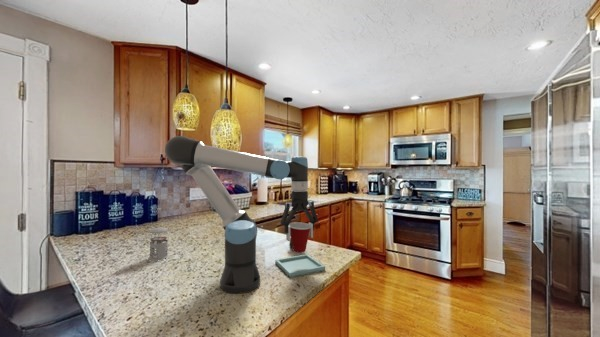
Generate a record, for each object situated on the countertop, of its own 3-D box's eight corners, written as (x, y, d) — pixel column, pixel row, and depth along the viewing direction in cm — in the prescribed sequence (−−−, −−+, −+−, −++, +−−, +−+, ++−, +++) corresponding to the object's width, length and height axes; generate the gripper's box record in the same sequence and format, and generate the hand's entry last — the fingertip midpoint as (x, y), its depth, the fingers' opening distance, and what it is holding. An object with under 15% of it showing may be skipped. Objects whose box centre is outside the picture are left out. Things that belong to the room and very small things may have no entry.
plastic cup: (305, 256, 104) (305, 228, 104) (283, 252, 108) (283, 225, 108) (315, 248, 114) (315, 223, 114) (294, 245, 118) (294, 221, 118)
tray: (290, 277, 100) (290, 273, 100) (275, 263, 115) (275, 259, 115) (325, 270, 107) (325, 266, 107) (307, 257, 122) (307, 254, 122)
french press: (152, 263, 115) (152, 210, 115) (142, 257, 122) (142, 207, 122) (173, 257, 123) (173, 207, 123) (163, 252, 130) (163, 205, 130)
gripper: (279, 192, 103) (279, 244, 103) (325, 190, 113) (325, 237, 113) (272, 191, 109) (273, 239, 109) (317, 189, 120) (317, 233, 120)
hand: (299, 238), depth 111 cm, fingers closed on plastic cup, 11 cm apart
